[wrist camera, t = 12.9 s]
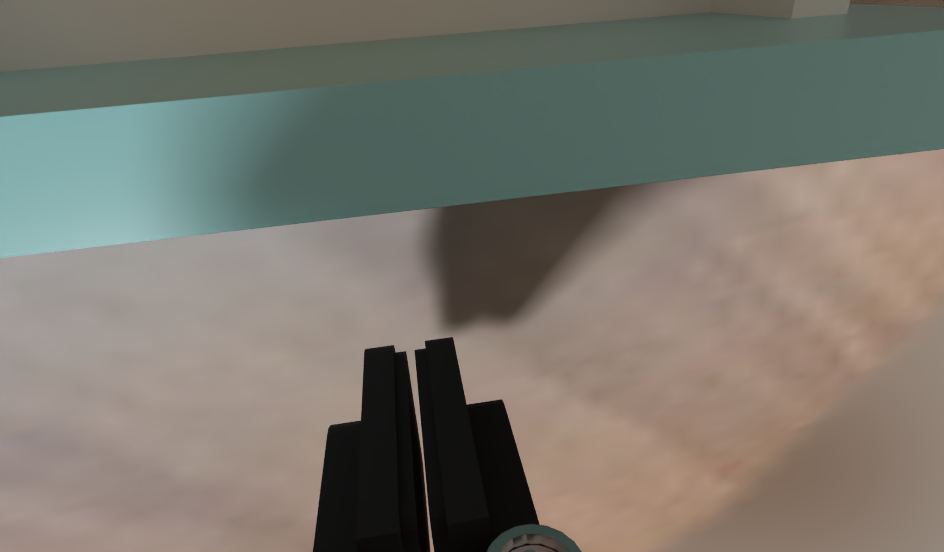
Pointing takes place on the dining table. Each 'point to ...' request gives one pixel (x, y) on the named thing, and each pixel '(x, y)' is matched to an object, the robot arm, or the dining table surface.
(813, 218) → the dining table surface
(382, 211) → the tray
